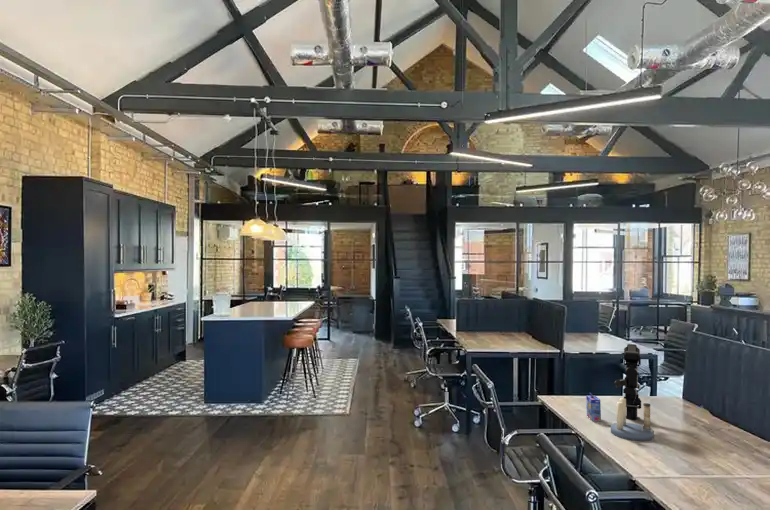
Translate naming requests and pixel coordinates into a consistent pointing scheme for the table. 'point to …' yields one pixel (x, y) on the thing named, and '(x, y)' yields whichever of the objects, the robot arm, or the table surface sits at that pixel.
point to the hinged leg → (646, 416)
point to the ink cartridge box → (593, 408)
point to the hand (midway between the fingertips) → (631, 404)
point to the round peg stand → (629, 426)
